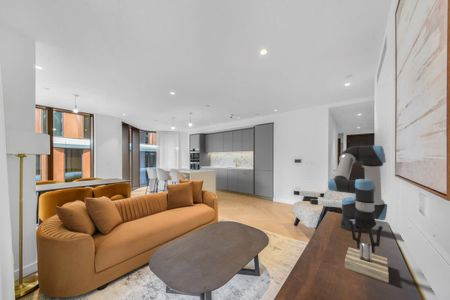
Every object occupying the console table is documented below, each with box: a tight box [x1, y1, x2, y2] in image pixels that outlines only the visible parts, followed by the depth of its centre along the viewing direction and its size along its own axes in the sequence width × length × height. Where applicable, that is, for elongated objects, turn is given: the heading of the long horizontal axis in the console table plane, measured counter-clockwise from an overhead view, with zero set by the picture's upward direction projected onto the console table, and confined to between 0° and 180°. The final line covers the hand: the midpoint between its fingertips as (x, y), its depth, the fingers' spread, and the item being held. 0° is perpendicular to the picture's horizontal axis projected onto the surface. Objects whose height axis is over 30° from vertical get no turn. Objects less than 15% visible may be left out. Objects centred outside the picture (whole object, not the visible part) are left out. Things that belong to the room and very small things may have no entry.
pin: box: [361, 241, 371, 262], centre depth 88 cm, size 3×3×11 cm
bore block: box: [344, 247, 390, 284], centre depth 88 cm, size 16×16×4 cm
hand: (365, 256), depth 88 cm, fingers closed on pin, 3 cm apart
